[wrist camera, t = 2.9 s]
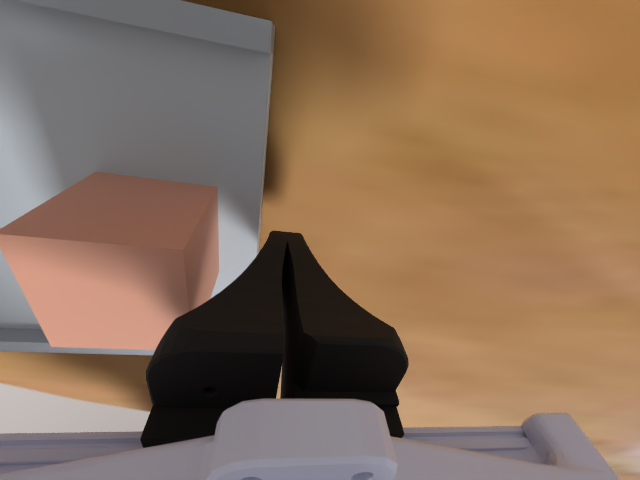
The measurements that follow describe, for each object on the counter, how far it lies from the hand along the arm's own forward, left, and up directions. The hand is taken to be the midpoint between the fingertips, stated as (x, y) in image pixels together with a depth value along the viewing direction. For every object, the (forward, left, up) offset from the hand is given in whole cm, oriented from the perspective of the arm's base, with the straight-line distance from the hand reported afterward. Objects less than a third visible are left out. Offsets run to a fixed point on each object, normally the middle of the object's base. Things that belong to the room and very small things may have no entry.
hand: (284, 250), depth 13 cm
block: (0, +5, -1) cm, 5 cm away
